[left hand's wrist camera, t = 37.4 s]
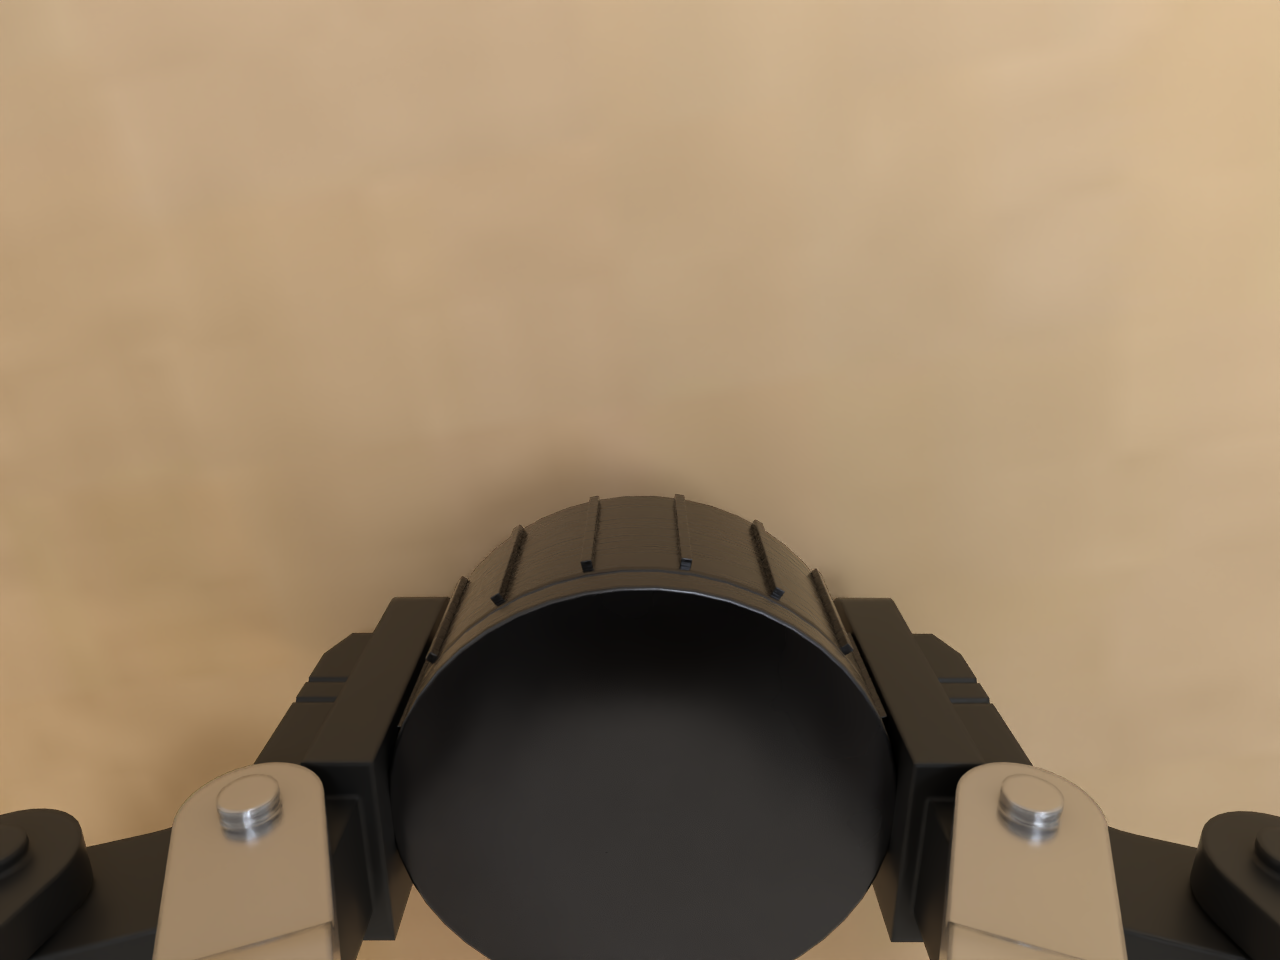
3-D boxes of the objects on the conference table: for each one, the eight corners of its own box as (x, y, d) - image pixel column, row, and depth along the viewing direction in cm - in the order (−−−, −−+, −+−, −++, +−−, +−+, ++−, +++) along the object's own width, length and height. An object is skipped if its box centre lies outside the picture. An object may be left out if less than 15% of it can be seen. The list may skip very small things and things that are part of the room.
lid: (375, 534, 10) (304, 637, 8) (822, 446, 10) (874, 528, 8) (493, 876, 12) (461, 1036, 10) (876, 813, 12) (930, 964, 10)
